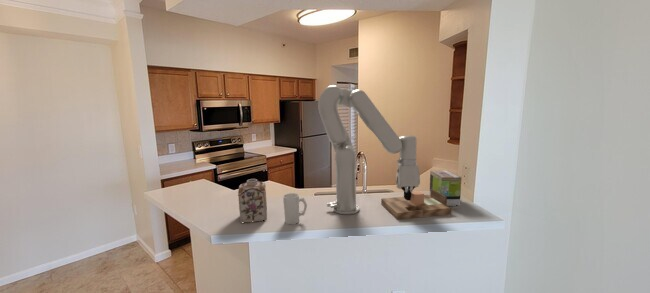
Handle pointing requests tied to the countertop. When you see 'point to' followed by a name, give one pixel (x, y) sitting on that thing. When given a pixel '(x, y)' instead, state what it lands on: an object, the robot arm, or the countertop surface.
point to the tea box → (446, 185)
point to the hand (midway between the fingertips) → (407, 199)
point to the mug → (293, 208)
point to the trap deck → (417, 206)
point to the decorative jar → (252, 201)
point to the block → (417, 198)
